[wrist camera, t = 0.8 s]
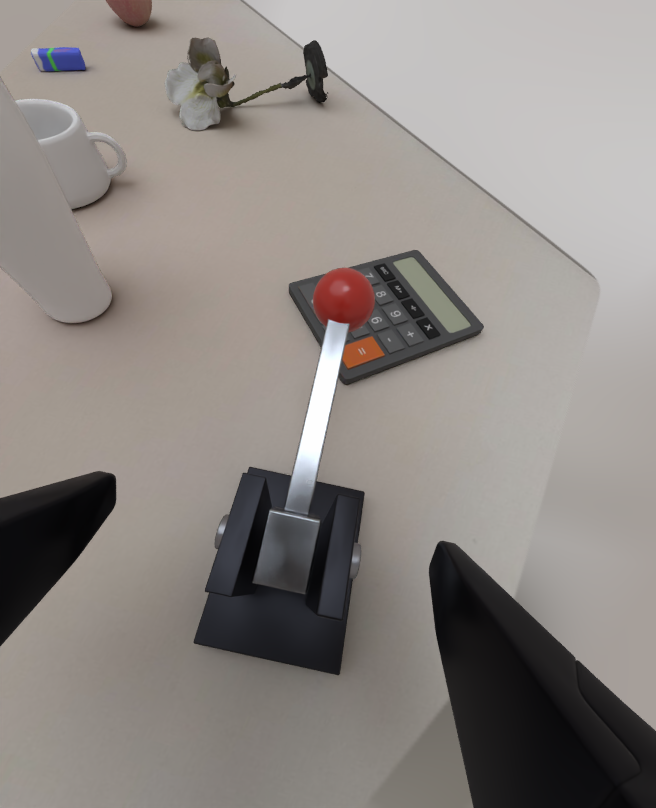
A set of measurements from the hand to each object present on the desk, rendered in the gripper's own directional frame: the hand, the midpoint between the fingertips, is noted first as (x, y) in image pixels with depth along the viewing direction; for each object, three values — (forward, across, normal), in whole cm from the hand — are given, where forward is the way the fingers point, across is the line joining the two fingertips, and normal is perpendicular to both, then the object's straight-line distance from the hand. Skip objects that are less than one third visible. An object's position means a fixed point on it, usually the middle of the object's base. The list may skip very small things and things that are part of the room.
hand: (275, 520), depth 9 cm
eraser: (+52, +47, -28) cm, 76 cm away
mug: (+33, +31, -11) cm, 47 cm away
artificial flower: (+52, +18, -28) cm, 61 cm away
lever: (+9, 0, 0) cm, 9 cm away
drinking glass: (+22, +22, -1) cm, 31 cm away
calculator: (+26, -4, -5) cm, 27 cm away
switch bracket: (+10, 0, +10) cm, 14 cm away
